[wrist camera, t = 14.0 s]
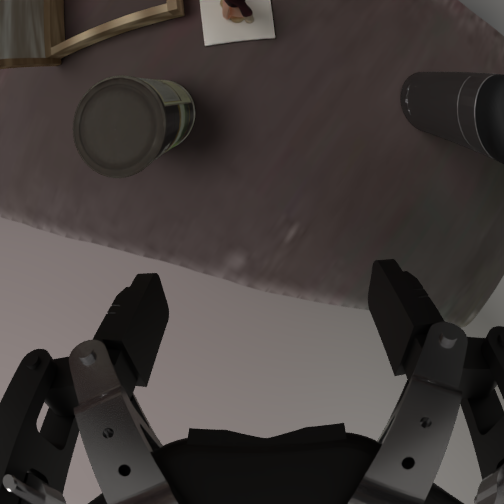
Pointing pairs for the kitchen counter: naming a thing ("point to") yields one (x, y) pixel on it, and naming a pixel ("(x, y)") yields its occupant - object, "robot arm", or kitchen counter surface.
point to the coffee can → (130, 123)
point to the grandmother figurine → (237, 11)
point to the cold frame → (61, 30)
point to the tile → (228, 31)
